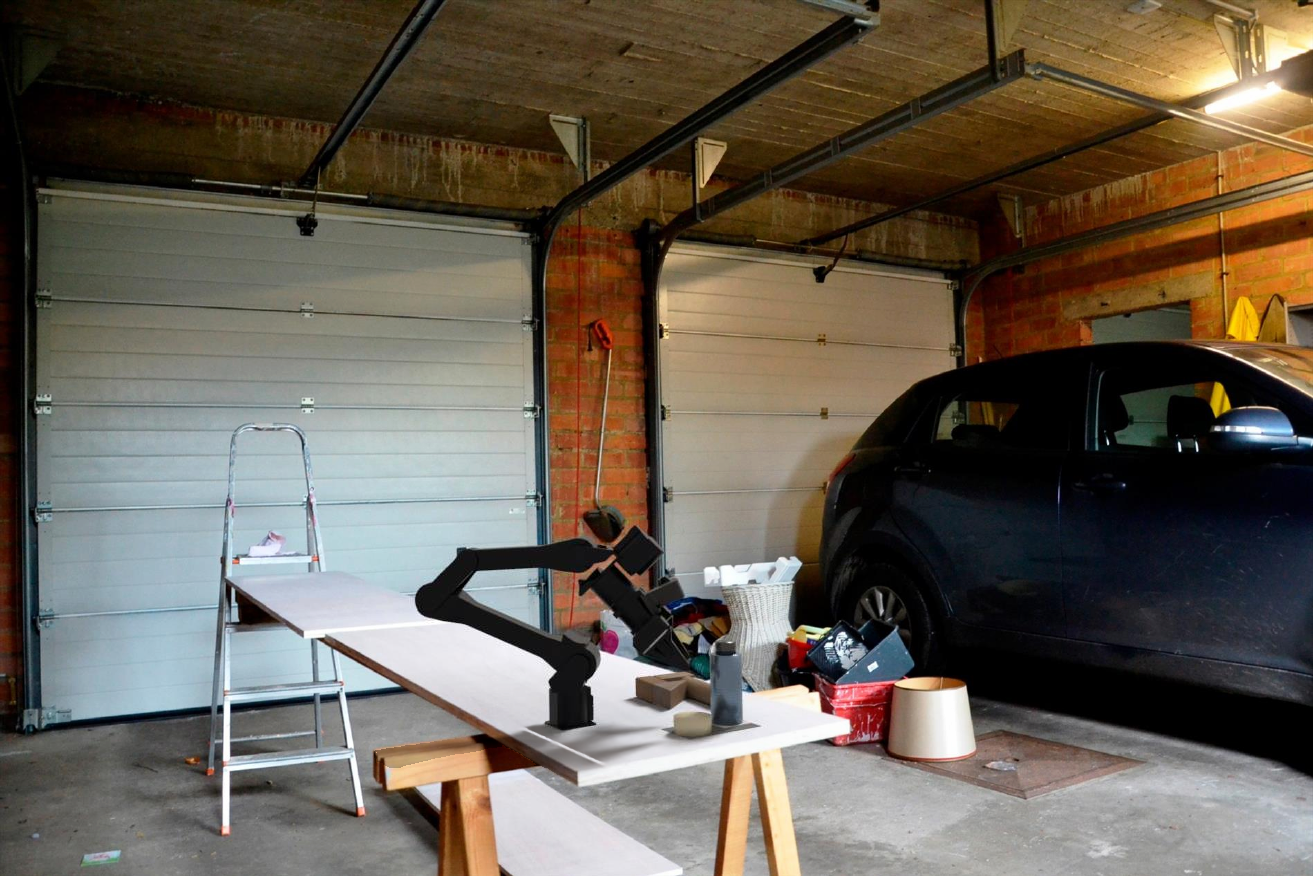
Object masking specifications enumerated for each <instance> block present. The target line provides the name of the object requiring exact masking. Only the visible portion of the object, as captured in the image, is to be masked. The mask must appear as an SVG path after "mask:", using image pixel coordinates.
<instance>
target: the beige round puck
mask: <svg viewBox="0 0 1313 876" xmlns="http://www.w3.org/2000/svg"><path fill="white" fill-rule="evenodd" d="M673 727H674V733H675V734H674V735H676V734H677V735H676V736H678V735H680V736H679V737H681V736H690V737H695V736H704V735H708V734H710V733H712V716H711V713H709V712H704V711H681V712H677V713H675V714H674V715H673Z"/></svg>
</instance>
